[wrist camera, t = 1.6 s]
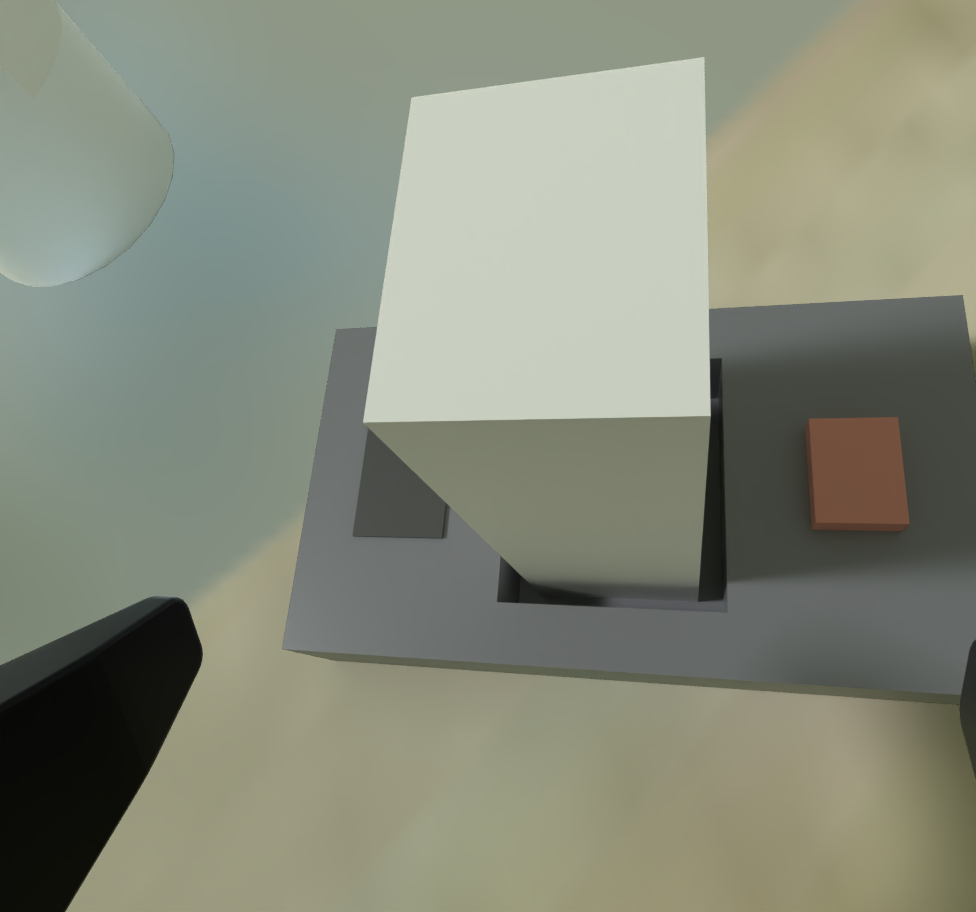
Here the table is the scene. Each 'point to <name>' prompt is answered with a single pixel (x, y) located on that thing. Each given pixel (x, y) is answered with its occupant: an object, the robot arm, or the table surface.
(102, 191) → the base with upright slab
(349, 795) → the table surface
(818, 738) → the table surface
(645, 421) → the block
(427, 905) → the table surface
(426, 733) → the table surface
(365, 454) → the power strip
